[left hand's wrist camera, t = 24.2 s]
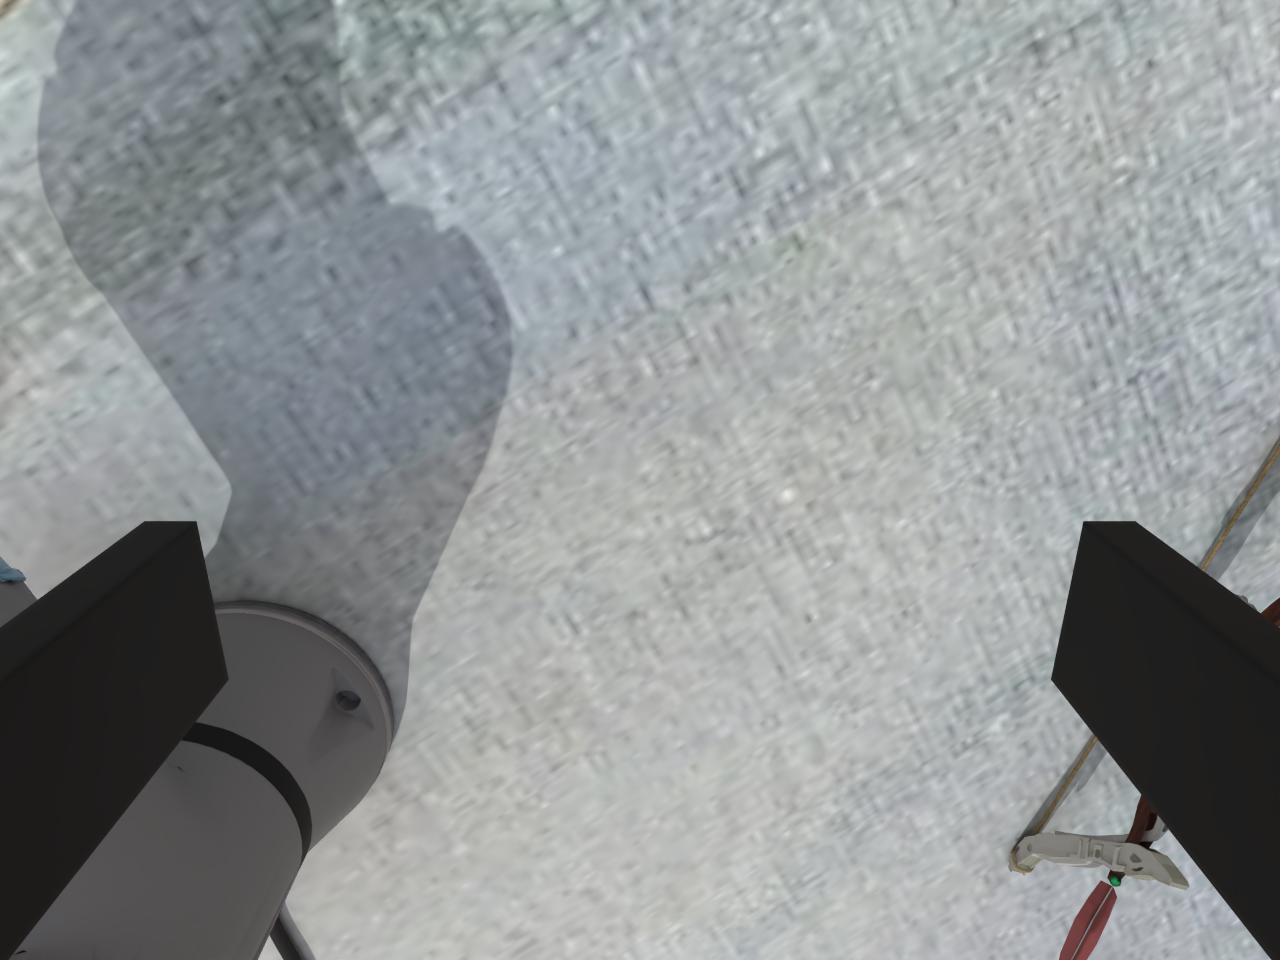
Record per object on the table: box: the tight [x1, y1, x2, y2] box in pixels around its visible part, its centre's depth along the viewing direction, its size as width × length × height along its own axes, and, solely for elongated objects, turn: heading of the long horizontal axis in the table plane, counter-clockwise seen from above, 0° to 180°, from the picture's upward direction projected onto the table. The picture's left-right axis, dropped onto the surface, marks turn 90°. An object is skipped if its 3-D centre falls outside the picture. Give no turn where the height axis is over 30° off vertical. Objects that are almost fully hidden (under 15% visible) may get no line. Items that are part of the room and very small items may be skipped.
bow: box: [1008, 444, 1280, 960], centre depth 44 cm, size 39×2×10 cm, turn 162°
